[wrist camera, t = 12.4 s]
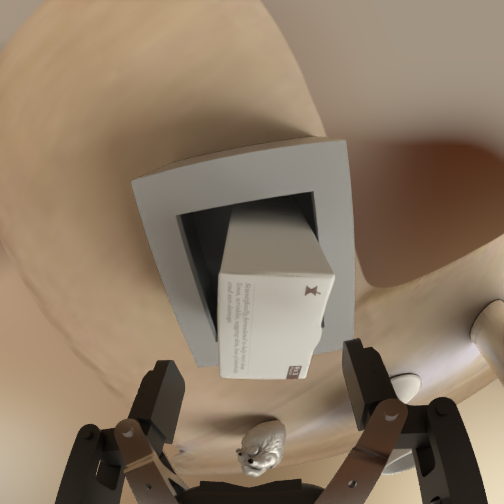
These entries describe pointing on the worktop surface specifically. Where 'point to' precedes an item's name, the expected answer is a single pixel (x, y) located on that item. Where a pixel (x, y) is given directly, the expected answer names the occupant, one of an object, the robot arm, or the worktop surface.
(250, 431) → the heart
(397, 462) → the chalice
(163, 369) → the robot arm
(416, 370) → the worktop surface
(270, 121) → the worktop surface
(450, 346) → the worktop surface
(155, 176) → the open gray box
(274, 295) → the skincare box
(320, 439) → the worktop surface
